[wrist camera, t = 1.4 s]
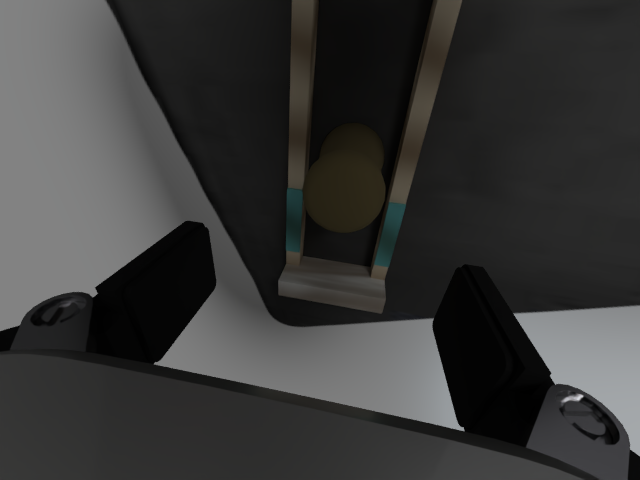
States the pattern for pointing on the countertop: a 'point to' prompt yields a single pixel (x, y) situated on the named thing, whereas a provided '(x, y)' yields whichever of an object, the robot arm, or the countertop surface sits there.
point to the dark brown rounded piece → (346, 179)
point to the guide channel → (368, 282)
